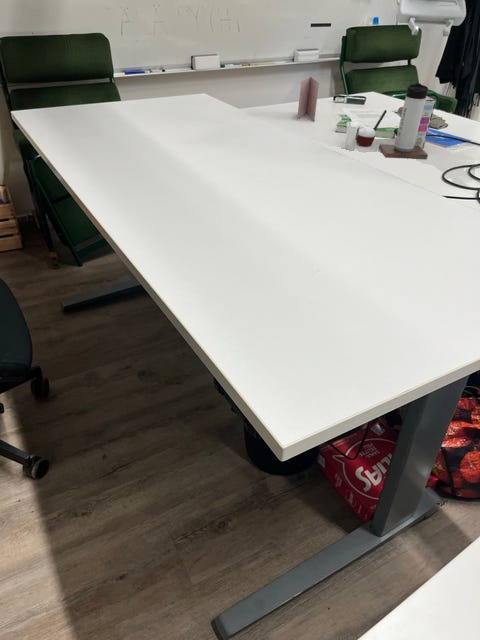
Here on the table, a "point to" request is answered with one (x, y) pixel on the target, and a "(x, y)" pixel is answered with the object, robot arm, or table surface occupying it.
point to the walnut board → (392, 153)
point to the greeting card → (308, 98)
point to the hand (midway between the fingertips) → (430, 34)
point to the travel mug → (410, 117)
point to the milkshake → (352, 135)
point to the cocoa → (368, 133)
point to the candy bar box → (425, 122)
